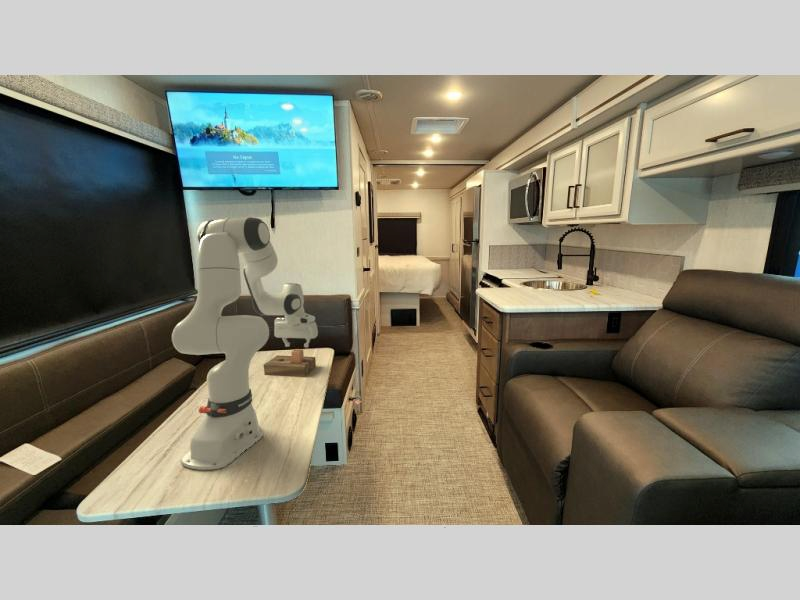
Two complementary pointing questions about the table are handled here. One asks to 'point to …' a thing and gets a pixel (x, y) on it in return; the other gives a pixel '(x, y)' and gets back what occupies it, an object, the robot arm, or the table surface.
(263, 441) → the table surface
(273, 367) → the socket block
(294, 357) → the square peg
